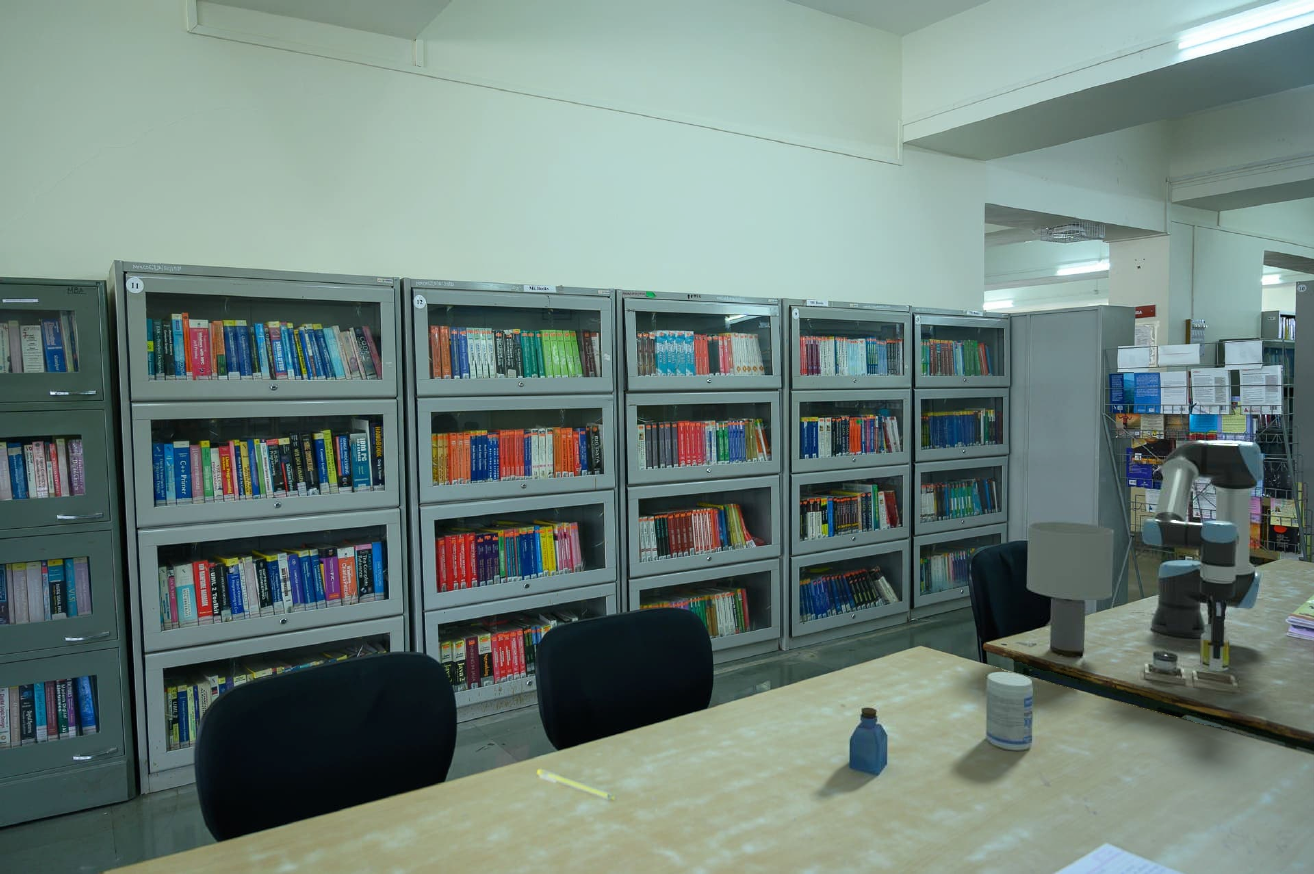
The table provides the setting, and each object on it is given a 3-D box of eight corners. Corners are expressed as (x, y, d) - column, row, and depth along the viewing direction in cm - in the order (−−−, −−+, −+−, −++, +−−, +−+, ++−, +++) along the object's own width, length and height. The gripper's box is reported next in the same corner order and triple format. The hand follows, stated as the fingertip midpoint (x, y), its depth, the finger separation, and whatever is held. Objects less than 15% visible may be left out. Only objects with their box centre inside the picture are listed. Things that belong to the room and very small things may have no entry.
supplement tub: (1035, 754, 171) (1036, 688, 170) (987, 749, 174) (989, 683, 173) (1028, 736, 180) (1029, 673, 179) (983, 731, 183) (984, 669, 182)
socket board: (1140, 670, 222) (1140, 661, 222) (1236, 685, 211) (1237, 675, 211) (1141, 683, 213) (1141, 673, 213) (1241, 699, 201) (1242, 688, 201)
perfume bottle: (878, 775, 162) (879, 718, 161) (849, 768, 165) (849, 712, 165) (887, 763, 167) (887, 708, 167) (858, 756, 171) (859, 702, 170)
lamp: (1066, 637, 253) (1068, 520, 251) (1128, 660, 231) (1132, 532, 229) (1008, 645, 246) (1010, 524, 244) (1067, 669, 224) (1071, 536, 222)
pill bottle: (1233, 671, 205) (1235, 630, 205) (1208, 671, 206) (1210, 629, 205) (1219, 663, 211) (1220, 623, 211) (1194, 663, 212) (1196, 622, 212)
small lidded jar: (1152, 671, 219) (1152, 650, 218) (1176, 674, 216) (1177, 653, 215) (1152, 677, 214) (1153, 655, 213) (1177, 681, 211) (1178, 659, 210)
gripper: (1197, 571, 218) (1194, 653, 219) (1202, 585, 201) (1200, 674, 202) (1230, 574, 214) (1228, 658, 215) (1239, 589, 197) (1236, 679, 198)
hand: (1214, 666), depth 209 cm, fingers closed on pill bottle, 6 cm apart
